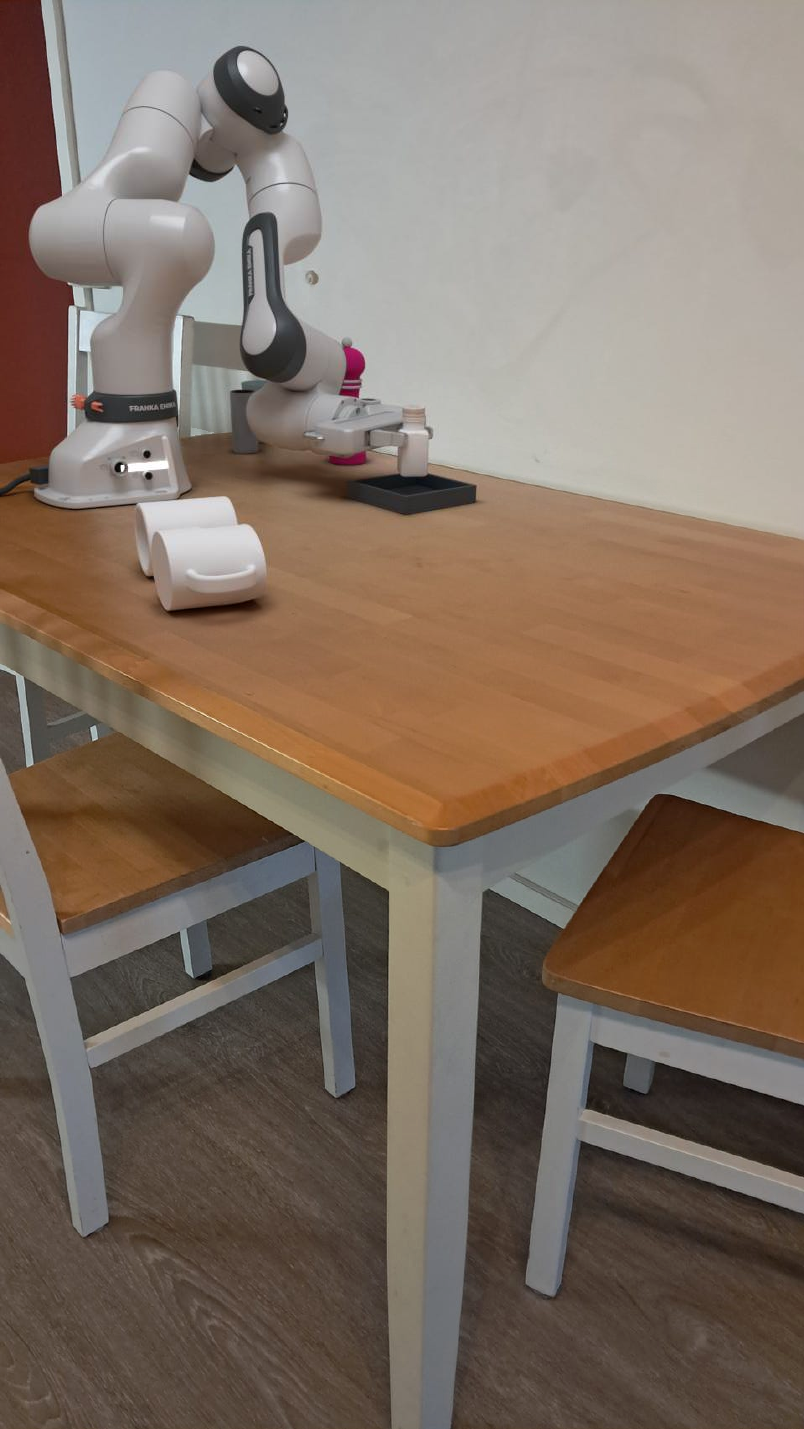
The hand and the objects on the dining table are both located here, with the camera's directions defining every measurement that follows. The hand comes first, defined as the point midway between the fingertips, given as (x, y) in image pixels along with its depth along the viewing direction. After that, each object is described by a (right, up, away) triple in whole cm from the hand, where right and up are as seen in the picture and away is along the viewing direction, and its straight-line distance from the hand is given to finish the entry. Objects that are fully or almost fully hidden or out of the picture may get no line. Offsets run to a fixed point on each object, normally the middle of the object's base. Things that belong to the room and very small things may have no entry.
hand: (418, 436), depth 151 cm
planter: (-30, +7, +38) cm, 49 cm away
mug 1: (-27, -23, -29) cm, 46 cm away
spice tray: (-1, -8, +4) cm, 9 cm away
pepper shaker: (-1, -5, +3) cm, 6 cm away
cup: (-28, +12, +48) cm, 57 cm away
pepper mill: (-12, +3, +30) cm, 32 cm away
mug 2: (-22, -29, -42) cm, 55 cm away
